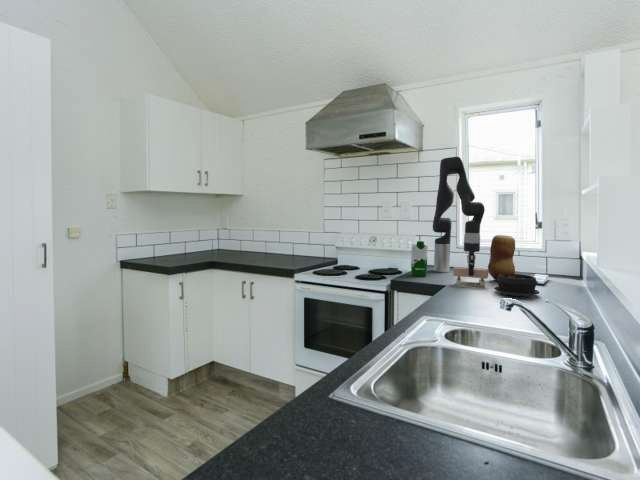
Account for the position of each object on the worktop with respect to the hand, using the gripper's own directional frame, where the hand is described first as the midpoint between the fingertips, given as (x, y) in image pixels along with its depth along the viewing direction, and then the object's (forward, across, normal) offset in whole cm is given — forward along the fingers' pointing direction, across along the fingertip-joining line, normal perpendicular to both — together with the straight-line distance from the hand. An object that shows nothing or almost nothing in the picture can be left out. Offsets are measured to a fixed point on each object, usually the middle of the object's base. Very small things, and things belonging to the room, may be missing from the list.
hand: (470, 274), depth 200 cm
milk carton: (+6, -21, -27) cm, 35 cm away
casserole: (+6, +15, +19) cm, 25 cm away
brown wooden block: (+1, 0, 0) cm, 1 cm away
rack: (+6, 0, 0) cm, 6 cm away
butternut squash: (+6, -19, +16) cm, 25 cm away
